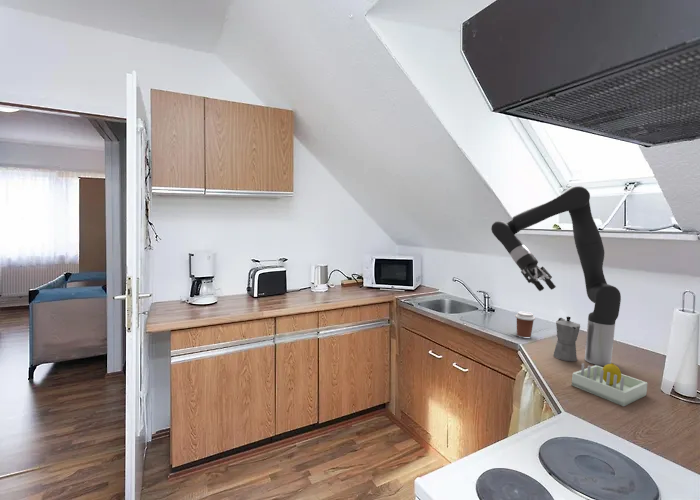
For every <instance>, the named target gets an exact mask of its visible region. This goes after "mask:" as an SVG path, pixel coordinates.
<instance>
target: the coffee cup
mask: <svg viewBox="0 0 700 500" xmlns="http://www.w3.org/2000/svg"><path fill="white" fill-rule="evenodd" d="M514 318H516V337H518V336H519V337H518V338H521V337H531V338H532V331H533V327H534V321H535V320H536V317H535V316H534V314H533V313H532V312H530V311H529V312H528V311H521V310H520V311H518V312H517V313H516V314H514Z"/></svg>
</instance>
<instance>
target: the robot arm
mask: <svg viewBox="0 0 700 500" xmlns="http://www.w3.org/2000/svg"><path fill="white" fill-rule="evenodd" d="M590 199H591V193H590V192H589V190H588V189H587V188H586V187H584V186H582V185H572V186H570V187H568V188H567V189H566V190H565V191H564V192H563V193H561V194H560V195H559V196H557V197H555V198H553V199H552V200H550V201H547V202H545V203H542V204H540V205H537V206H534V207H531V208H529V209H527V210H524V211H522V212H520V213H518V214H515V215H514V216H513V217H512V219H511V220H510V221H508V222H505V221H503V220H498V221H495V222H493V223H492V225H491V228H490V229H491V233H492V234H493V236H494V237H495V238H496V239H497V240H498V241H499V243H500V244H501V245H502V246H503V247H504V248H505V250H506V251H507V252H508V254H509V255H510V257H511V258H512V260H513V261H514V263H515V264H516V265H517V267H518V268H519V269H520V273H521V275H523V278H525V280H526V281H527V283H528V284H530V283H531V284H532V285H534V286H535V288H536V289H537V290H538V291H539V292H541V291H544V289H545V287H544V285H543V284H542V283H541V281H542V282H544V283H545V284H546V285H547V287H548V288H549V289H550V290H554V289H555V288H557V286H556V285H555V283H553V281H552V278H553V276H552V275H551V274H550V273H549V271H548V270H547V269H546V268H545V267H544V266H541V267H539V266H538V263H539V261H538V259H537V258H536V256H535V255H534V254H533V253H532V252H531V251H530V249H529V248H528V247H527V246H526V245H525V244H524V243H523V242H522V240H521V239H520V238H519V237H517V235H516V234H518V233H519V232H521V231H522V230H525V229H527V228H530V227H532V226H535V225H537V224H538V223H541V222H543V221H545V220H547V219H549V218H552V217H555V216H556V215H559V214H562V213H566V212H568V213H569V215H570V218H571V223H572V233H573V240H574V245H575V248H576V252H577V256H578V257H579V262H580V265H581V266H580V267H581V269H582V272H583V276H584V284H585V291H586V295H587V297H588V299H589V300H590V301H591V302H592V303H593V304H594V308H593V311H592V312H590V313H589V314H588V317H587V328H586V340H585V348H584V349H585V351H584V361H586V362H588V363H589V364H592V365H594V366H595V365H597V366H600V367H604V366H605V365H607V364H611V363H612V358H613V351H614V350H613V348H614V339H615V338H614V337H615V329H616V328H615V327H616V320H617V319H618V318H619V315H620V309H621V302H622V299H621V298H622V297H621V291H620V290H619V288H617V287H616V286H614V285H611V284H608V282H607V280H606V278H605V274H604V269H603V268H604V267H603V265H604V260H605V247H604V243H603V240H602V237H601V234H600V231H599V229H598V226H597V225H596V222H595V220H594V218H593V215H592V210H591V203H590V202H591V201H590Z"/></svg>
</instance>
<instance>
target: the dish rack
mask: <svg viewBox="0 0 700 500" xmlns="http://www.w3.org/2000/svg"><path fill="white" fill-rule="evenodd" d="M603 367H604V366H600V365H595V364H594V365H592V366H591V365H587V367H586V368H585V363H581V369H579V370H577V371H574V372H572V378H571V386H573V388H574V387H575V388H577V389H580V390H582V391H584V392H587V393H589V394H592V395H594V396H597V397H600V398H602V399H604V400H607V401H609V402H612V403H614V404H617V405H619V406H622V407H626V406H627V405H630V404H631V403H633V402H635V401H638V400H639V399H643V397H644V398H645V396H647V392H648V382H647V381H644V380H641V379H638V378H636V377H633V376H629V375H625V374H623V373H621V380H620V382H619V383H618V384H616V382H617V375H614V381H613V385H612V386H610V385H609V381H610V373H609V372H607V381H606V382H605V381H604V380H603V372H604V371H603V370H602V369H603Z"/></svg>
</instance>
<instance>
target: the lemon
mask: <svg viewBox="0 0 700 500" xmlns="http://www.w3.org/2000/svg"><path fill="white" fill-rule="evenodd" d="M602 367H603V369H602V370H603V371H604V372H603V380H604V381H605V382H606V381H607V372H609V373H610V381H609V385H610V386H612V385H613V381H614V375H617V382H616V384H618V383H619V382H620V380H621V374H622V371H621V369H620V368H619V367H618V365H616V364H615V363H612V362H611V364H607V365H605V366H602Z"/></svg>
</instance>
